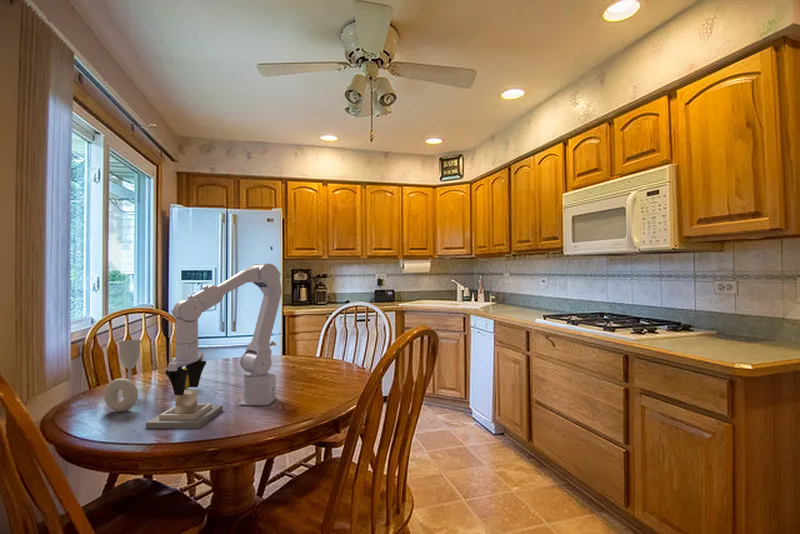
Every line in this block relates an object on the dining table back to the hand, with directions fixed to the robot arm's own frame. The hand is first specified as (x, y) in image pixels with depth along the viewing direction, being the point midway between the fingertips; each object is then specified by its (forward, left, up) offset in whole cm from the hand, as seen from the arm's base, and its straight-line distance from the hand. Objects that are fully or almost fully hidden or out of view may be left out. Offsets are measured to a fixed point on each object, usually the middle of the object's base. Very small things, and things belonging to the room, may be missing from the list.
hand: (186, 390), depth 113 cm
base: (0, 0, -8) cm, 8 cm away
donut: (+23, -6, -8) cm, 25 cm away
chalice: (+33, -24, -8) cm, 42 cm away
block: (0, 0, -6) cm, 6 cm away
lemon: (+16, -28, -8) cm, 33 cm away
